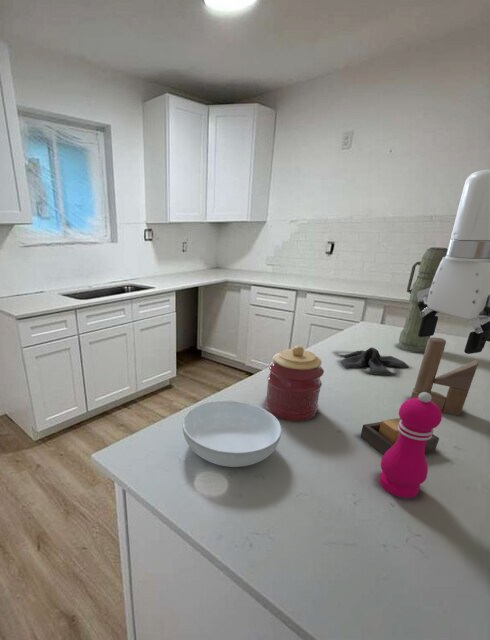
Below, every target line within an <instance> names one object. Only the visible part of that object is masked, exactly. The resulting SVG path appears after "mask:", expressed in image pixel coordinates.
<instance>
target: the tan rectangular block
mask: <svg viewBox="0 0 490 640" xmlns="http://www.w3.org/2000/svg"><path fill="white" fill-rule="evenodd" d="M400 421H401V418H400V417H397V418H391V419H384V420H381V421H380V422H381V425H380V429H379V433H380V434H381V435H383V436H384V437H385V438H387V439H388V440H389V441H391V442H392V443H395V442H396V441H397V439H398V437H399V430H398V426H399V422H400Z"/></svg>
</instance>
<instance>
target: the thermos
mask: <svg viewBox="0 0 490 640" xmlns="http://www.w3.org/2000/svg"><path fill="white" fill-rule="evenodd" d="M447 250H448V247H435V246H434V247H429V248H427V249H426V250H425V252H424V253H423V255H422V256H421V261H416V262H415V263H414V264H413V265H412V267H411V270H410V276H409V279H408V282H407V283H408V284H407V289H406V292H407V293H409V298H408V299H409V306H408V310H407V313H406V318H405V322H404V325H403V329H402V330H401V332H400V334H399V338H398V344H397V347H398V348H399V350H403V351H406V352H409V353H425V349H426V346H427V342H428V339H429V338H431V336H426V337H419V336H418V334H419V330H420V326H421V322H422V318H423V317H421V316H420V312H421V311H420V309H419V307H418V303H419V302H418V299H417V292H419V291H422V290H425V289H428V288H431V285H432V282H433V279H434V276H435V274H436V271H437V269H438V267H439V265H440V262H441V261H442V259H443V257H446V254H447ZM417 266H419V268H418V275H417V276H416V279H415V281H414V283H413V284H412V282H413V279H414V275H415V271H416V267H417Z"/></svg>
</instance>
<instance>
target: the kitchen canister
mask: <svg viewBox="0 0 490 640" xmlns="http://www.w3.org/2000/svg"><path fill="white" fill-rule="evenodd" d="M321 365H322V360H321V358H320V357H318V356H317V355H316V354H315V353H313V352H311V351H309V350H305V349H304V348H303V346H301V345H295V346H294V347H293V348H287V349H283V350H281V351H279V352H277V353H275V354H274V355H273V357H272V361H271V362H269V364H268V369H269V371H270V372H269V374H268V375H267V387H266V388H267V389H266V395H265V401H264V403H265V408H266V411H268V412H270V413H271V414H272V415H274V416H275V417H276V418H277V419H278V418H279V419H281V420H286V421H292V422H303V421H309V420H310V419H312V418H314V417H315V416H316V413H317V411H318V408H319V397H320V393H321V392H320V391H321V388H322V386H323V383H322V380H321V377H322V376H323V375H324V374H325V370H324V368H323V367H322V366H321Z"/></svg>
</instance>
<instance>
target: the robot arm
mask: <svg viewBox="0 0 490 640" xmlns="http://www.w3.org/2000/svg"><path fill="white" fill-rule="evenodd" d="M458 203H459V204H458V208H457V212H456V215H455V219H454V224H453V228H452V231H451V236H450V239H449V243H448V247H447V249H448V250H447V254H446V257H443V259H442V261H441V262H440V265H439V267H438V269H437V271H436V274H435V276H434V279H433V282H432V285H431V288H428V289H425V290H422V291H419V292H417V299H418V302H419V303H418V307H419V309H420V311H421V312H420V316H421V317H423V318H422V322H421V326H420V330H419V334H418V336H419V337H426V336H430V337H433V336H434V335H435V331H436V328H437V324H438V321H439V316H438V314H439V313H442V314H444V315H449V316H453V317H456V318H461V319H465V320H469V322H470V324H471V326H472V329H473V331H470V332H469V334H468V336H467V340H466V343H465V347H464V350H463V352H464V354H466V355H472V354H478V353H482V352H483V349H484V348H485V344H486V342H487V340H488V336H489V333H490V168H489V169H488V168H487V169H481V170H477V171H475V172H472V173H471V174H469V175H468V176H467V177H466V179H465V182H464V185H463V188H462V192H461V196H460V200H459V202H458Z"/></svg>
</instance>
